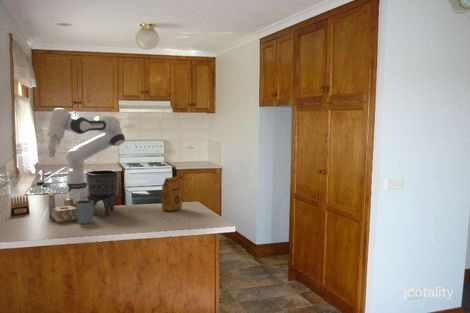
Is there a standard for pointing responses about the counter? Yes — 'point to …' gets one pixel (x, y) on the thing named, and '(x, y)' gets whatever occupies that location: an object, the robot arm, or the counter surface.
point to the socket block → (64, 214)
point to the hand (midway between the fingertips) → (51, 156)
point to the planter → (103, 188)
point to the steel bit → (51, 203)
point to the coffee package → (171, 195)
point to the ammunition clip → (19, 206)
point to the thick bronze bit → (69, 202)
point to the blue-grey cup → (84, 211)
